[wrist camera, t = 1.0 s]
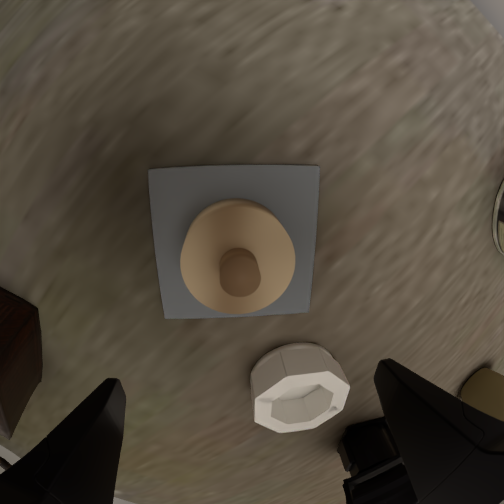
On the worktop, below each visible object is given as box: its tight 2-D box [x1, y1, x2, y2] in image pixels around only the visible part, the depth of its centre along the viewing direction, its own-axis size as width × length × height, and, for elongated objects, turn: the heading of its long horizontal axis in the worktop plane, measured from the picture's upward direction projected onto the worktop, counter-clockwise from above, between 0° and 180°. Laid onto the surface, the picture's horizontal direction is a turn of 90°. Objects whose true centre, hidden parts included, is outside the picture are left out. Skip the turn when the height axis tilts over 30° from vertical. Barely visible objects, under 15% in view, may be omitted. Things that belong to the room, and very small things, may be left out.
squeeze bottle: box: [460, 367, 504, 421], centre depth 24 cm, size 8×8×18 cm
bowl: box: [250, 342, 350, 433], centre depth 24 cm, size 8×8×4 cm
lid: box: [180, 198, 295, 314], centre depth 18 cm, size 7×7×5 cm
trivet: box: [148, 164, 320, 319], centre depth 21 cm, size 11×11×1 cm
